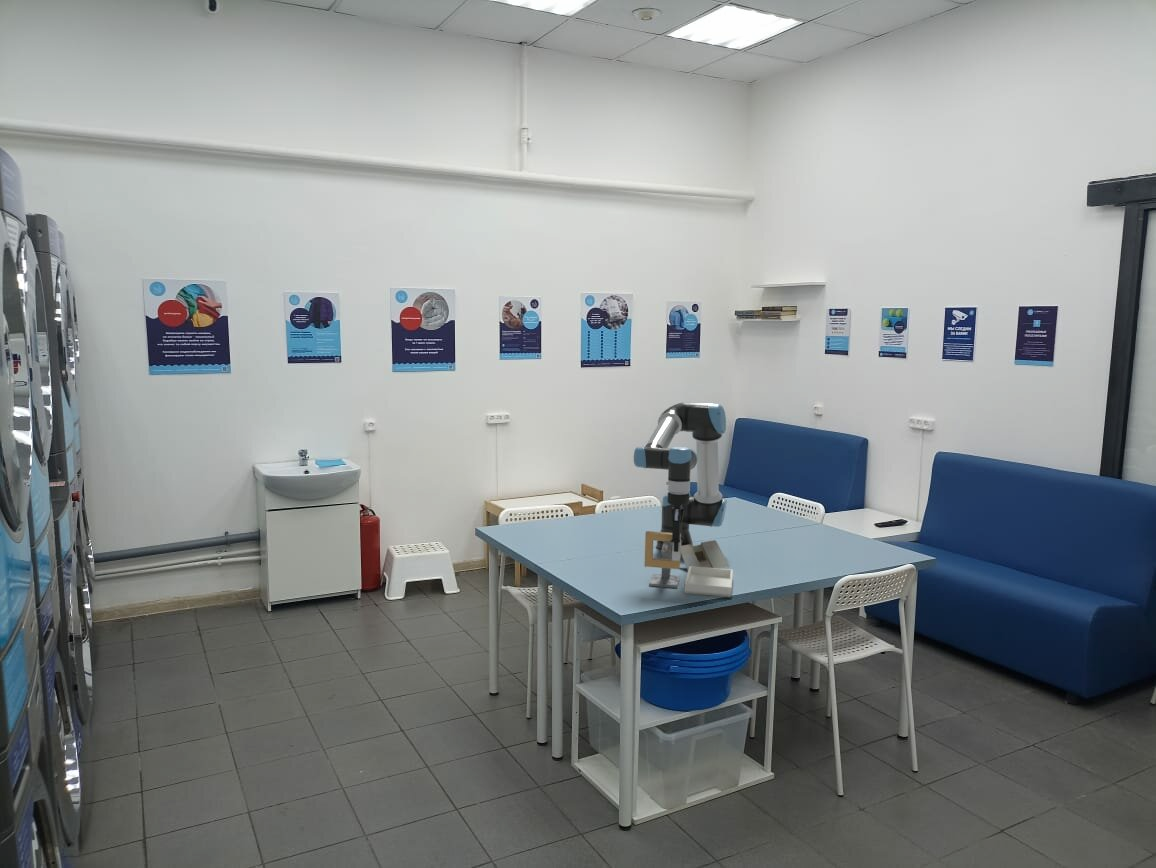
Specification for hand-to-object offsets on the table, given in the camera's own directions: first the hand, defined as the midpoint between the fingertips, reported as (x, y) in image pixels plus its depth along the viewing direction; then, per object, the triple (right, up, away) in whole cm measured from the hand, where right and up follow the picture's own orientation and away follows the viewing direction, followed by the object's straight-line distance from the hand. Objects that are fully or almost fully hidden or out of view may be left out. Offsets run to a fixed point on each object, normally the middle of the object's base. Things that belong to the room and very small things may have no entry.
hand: (676, 558), depth 281 cm
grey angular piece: (+14, -9, +33) cm, 37 cm away
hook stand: (-3, -11, +12) cm, 16 cm away
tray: (+13, -11, +11) cm, 20 cm away
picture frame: (-5, -3, +1) cm, 6 cm away
